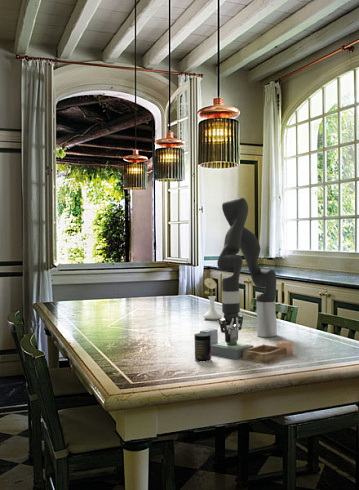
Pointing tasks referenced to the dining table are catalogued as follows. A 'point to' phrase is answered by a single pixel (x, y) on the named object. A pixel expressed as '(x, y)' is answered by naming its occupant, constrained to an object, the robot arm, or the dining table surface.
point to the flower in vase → (211, 301)
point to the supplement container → (202, 346)
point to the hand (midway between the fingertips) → (231, 341)
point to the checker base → (229, 351)
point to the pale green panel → (232, 346)
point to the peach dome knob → (286, 346)
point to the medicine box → (212, 335)
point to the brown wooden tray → (264, 353)
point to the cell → (233, 337)
